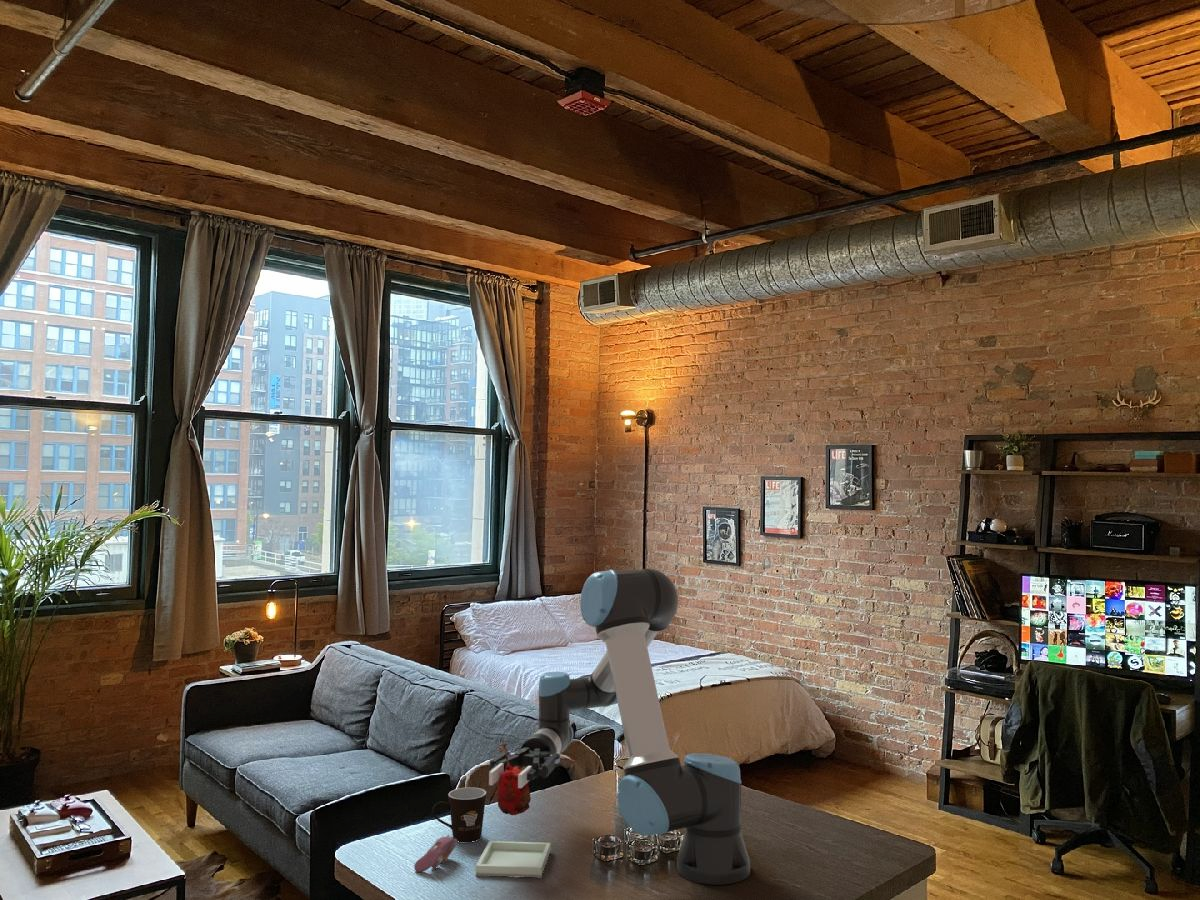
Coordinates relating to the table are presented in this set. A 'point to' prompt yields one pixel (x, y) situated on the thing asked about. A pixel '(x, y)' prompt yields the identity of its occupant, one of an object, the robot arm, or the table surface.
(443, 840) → the pink animal figurine
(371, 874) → the table surface
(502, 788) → the red bumpy rounded piece
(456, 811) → the coffee mug
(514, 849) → the sage tray
